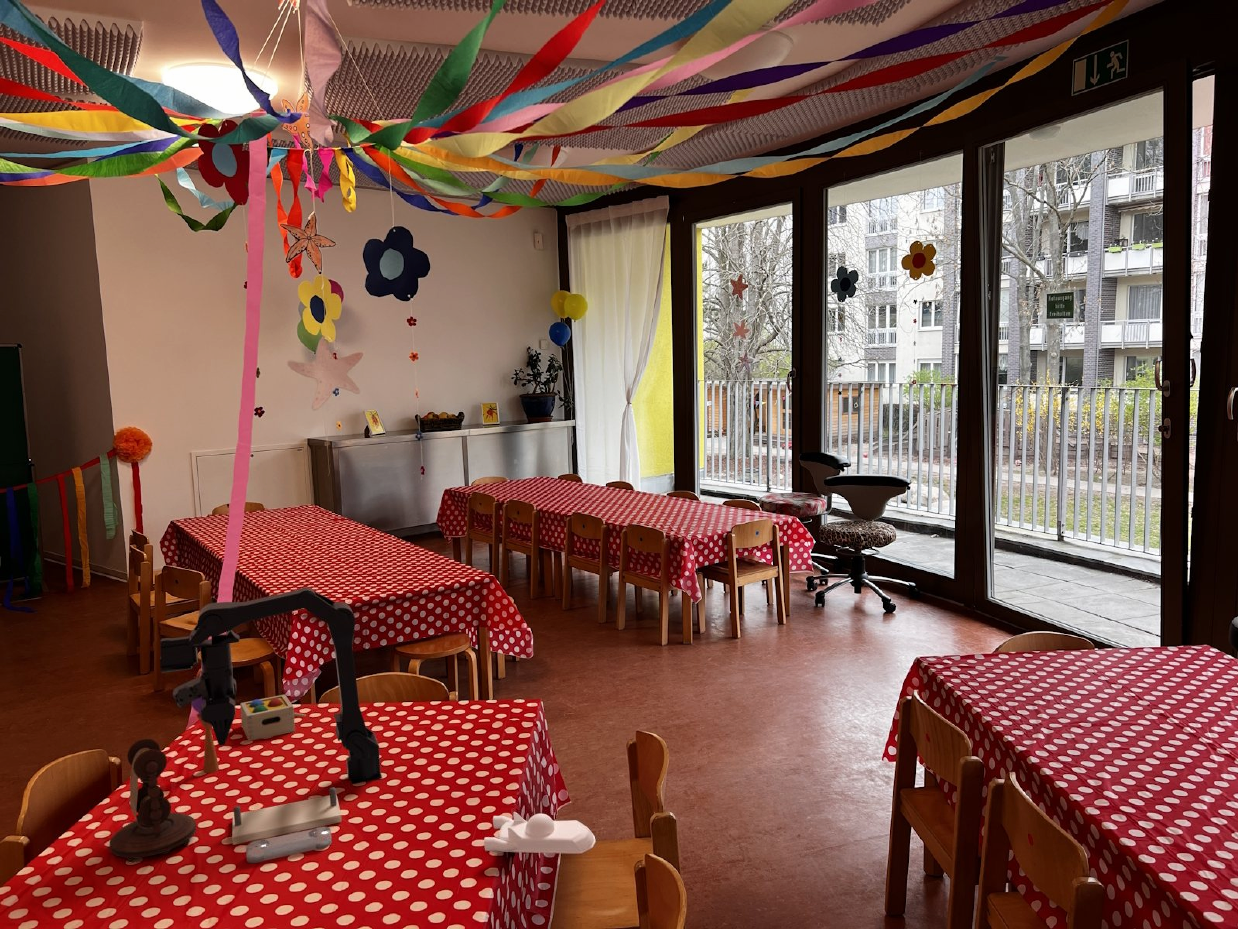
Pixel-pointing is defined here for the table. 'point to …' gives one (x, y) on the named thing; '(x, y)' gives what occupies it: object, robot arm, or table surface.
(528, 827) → the plane toy
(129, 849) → the dark brown upright piece
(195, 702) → the kendama
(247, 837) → the peg rack
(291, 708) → the pounding toy
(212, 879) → the table surface
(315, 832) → the grey baby rattle
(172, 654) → the robot arm
